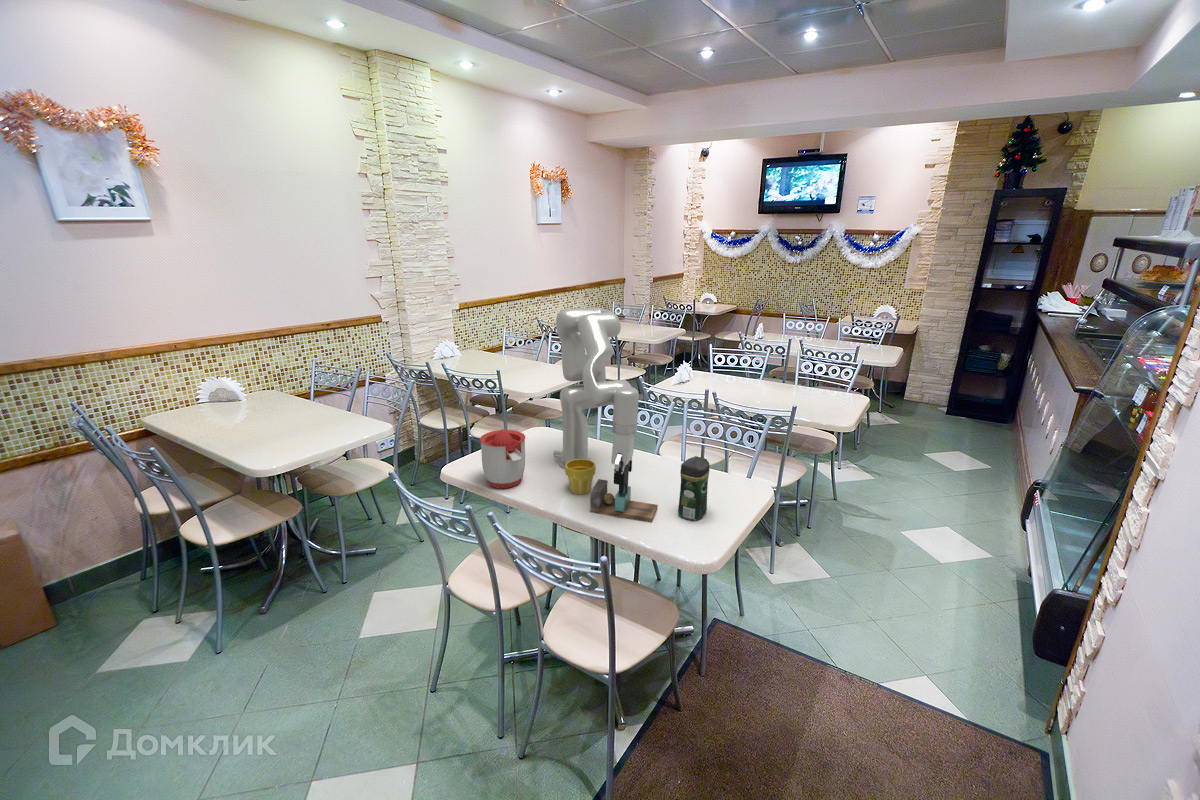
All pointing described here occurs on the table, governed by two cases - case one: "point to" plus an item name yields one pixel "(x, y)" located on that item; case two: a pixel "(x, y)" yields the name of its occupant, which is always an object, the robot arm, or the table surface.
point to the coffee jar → (693, 488)
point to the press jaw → (623, 492)
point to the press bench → (600, 507)
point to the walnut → (608, 498)
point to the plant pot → (580, 475)
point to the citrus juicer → (503, 457)
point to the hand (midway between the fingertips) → (622, 477)
